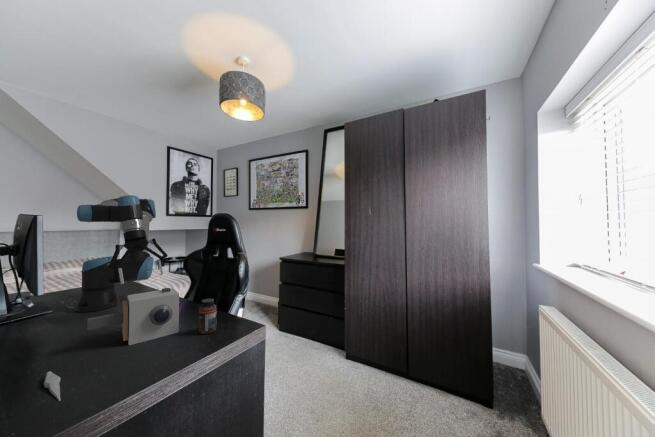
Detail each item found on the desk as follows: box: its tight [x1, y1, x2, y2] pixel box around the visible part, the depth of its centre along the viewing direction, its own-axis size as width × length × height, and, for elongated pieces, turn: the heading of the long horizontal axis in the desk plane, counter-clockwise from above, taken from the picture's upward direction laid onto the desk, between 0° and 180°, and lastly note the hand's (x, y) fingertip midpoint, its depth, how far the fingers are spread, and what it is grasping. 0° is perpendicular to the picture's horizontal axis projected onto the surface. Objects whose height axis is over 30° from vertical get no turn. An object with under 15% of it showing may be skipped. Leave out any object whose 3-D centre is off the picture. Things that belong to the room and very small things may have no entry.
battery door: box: [86, 299, 128, 342], centre depth 79 cm, size 8×10×11 cm
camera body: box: [126, 287, 180, 346], centre depth 86 cm, size 12×14×15 cm
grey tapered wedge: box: [43, 370, 62, 402], centre depth 58 cm, size 15×3×2 cm, turn 55°
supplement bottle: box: [197, 298, 218, 335], centre depth 89 cm, size 6×6×11 cm
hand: (143, 279), depth 104 cm, fingers open, 13 cm apart
